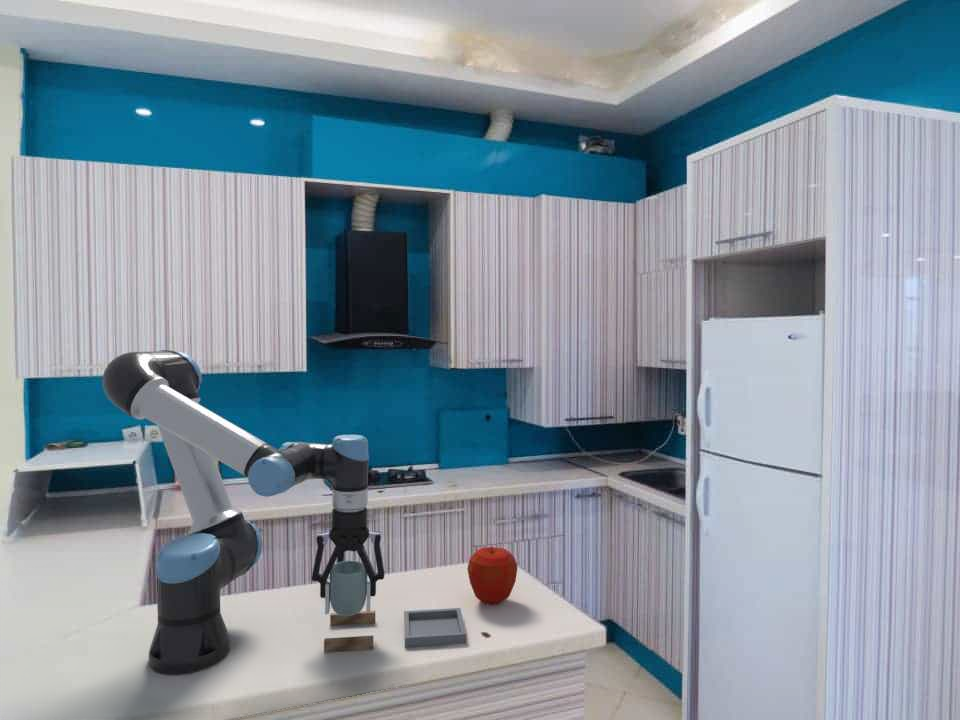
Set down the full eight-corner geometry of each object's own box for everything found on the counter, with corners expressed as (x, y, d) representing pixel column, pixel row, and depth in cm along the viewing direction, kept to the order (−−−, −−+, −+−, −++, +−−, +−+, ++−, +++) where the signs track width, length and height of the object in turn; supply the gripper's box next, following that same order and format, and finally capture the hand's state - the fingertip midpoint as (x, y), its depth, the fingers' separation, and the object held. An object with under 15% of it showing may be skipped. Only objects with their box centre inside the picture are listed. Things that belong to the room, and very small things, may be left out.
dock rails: (324, 652, 130) (324, 640, 130) (330, 624, 143) (330, 613, 143) (373, 649, 131) (373, 637, 131) (375, 621, 144) (375, 610, 144)
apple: (479, 617, 146) (479, 557, 146) (459, 597, 157) (459, 541, 157) (526, 607, 151) (526, 549, 151) (504, 589, 162) (504, 535, 162)
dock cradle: (404, 647, 132) (404, 638, 132) (404, 619, 145) (404, 611, 145) (466, 643, 134) (466, 634, 134) (460, 616, 147) (460, 607, 147)
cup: (350, 601, 143) (351, 557, 142) (373, 611, 138) (374, 566, 137) (322, 612, 137) (322, 567, 136) (345, 624, 132) (345, 576, 131)
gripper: (297, 513, 131) (295, 620, 132) (398, 511, 134) (396, 617, 135) (302, 503, 138) (301, 604, 139) (398, 502, 141) (396, 602, 142)
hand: (348, 610), depth 137 cm, fingers closed on cup, 8 cm apart
